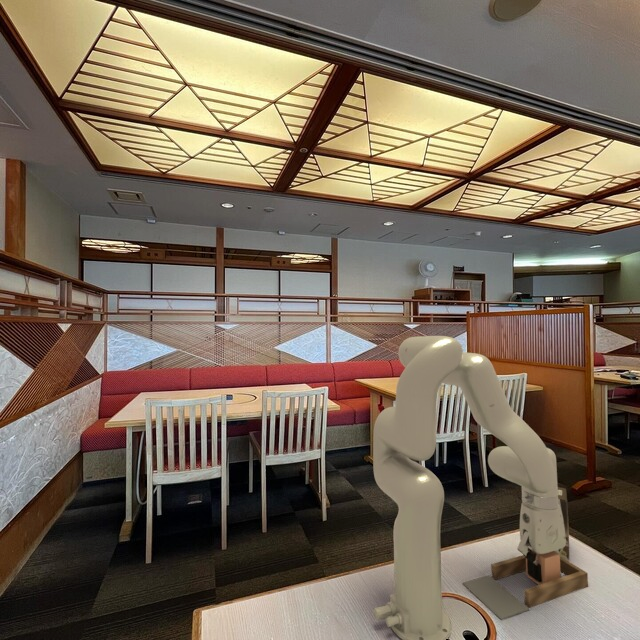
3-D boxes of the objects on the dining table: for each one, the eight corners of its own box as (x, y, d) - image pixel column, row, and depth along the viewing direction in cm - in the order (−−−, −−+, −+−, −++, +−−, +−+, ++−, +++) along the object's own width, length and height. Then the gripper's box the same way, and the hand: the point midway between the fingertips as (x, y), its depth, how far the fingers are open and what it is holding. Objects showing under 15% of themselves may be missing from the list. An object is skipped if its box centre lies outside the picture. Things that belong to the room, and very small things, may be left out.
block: (546, 589, 77) (544, 558, 78) (526, 575, 82) (525, 546, 82) (561, 584, 79) (559, 554, 79) (541, 571, 84) (539, 542, 84)
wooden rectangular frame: (529, 607, 72) (528, 593, 72) (491, 576, 81) (491, 564, 82) (588, 586, 78) (587, 573, 78) (547, 560, 88) (546, 548, 88)
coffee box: (570, 564, 86) (566, 500, 87) (540, 554, 90) (537, 493, 91) (570, 546, 93) (567, 488, 94) (542, 538, 97) (540, 482, 98)
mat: (501, 620, 69) (501, 618, 69) (462, 583, 79) (462, 582, 79) (529, 610, 71) (529, 608, 71) (488, 576, 82) (488, 574, 82)
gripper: (528, 511, 75) (531, 595, 74) (579, 499, 81) (583, 577, 80) (500, 497, 82) (503, 573, 81) (549, 487, 88) (552, 558, 87)
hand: (543, 574), depth 80 cm, fingers closed on block, 5 cm apart
